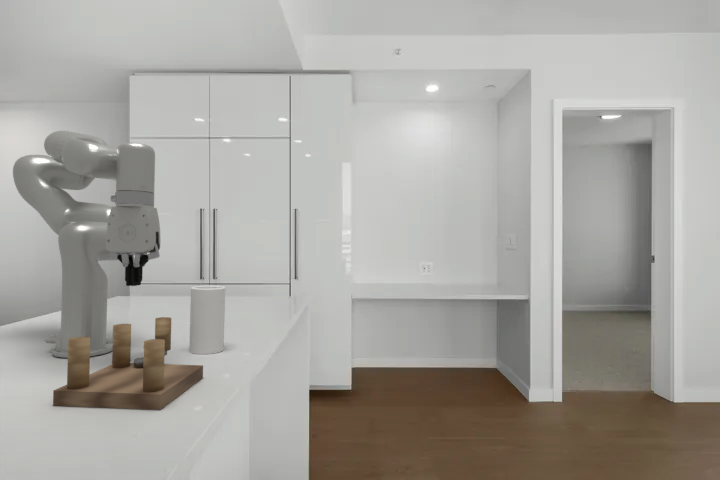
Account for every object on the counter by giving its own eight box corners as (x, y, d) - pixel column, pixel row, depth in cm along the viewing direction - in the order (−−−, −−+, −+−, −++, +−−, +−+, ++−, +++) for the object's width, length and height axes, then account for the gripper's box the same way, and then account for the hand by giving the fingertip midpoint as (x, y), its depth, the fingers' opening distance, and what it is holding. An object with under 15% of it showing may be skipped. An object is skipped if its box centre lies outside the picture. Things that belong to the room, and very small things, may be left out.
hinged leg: (145, 367, 90) (146, 327, 90) (129, 366, 90) (130, 326, 90) (173, 352, 101) (174, 317, 101) (158, 352, 102) (159, 317, 102)
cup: (204, 356, 111) (205, 289, 111) (182, 351, 115) (183, 286, 115) (230, 349, 118) (232, 287, 118) (208, 345, 122) (210, 284, 122)
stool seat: (52, 405, 76) (54, 341, 76) (115, 374, 94) (117, 322, 94) (160, 409, 75) (161, 344, 75) (202, 377, 93) (204, 325, 93)
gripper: (91, 199, 97) (89, 286, 97) (160, 199, 96) (159, 287, 96) (111, 202, 105) (110, 283, 104) (176, 203, 104) (175, 284, 104)
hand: (133, 285), depth 100 cm, fingers closed
